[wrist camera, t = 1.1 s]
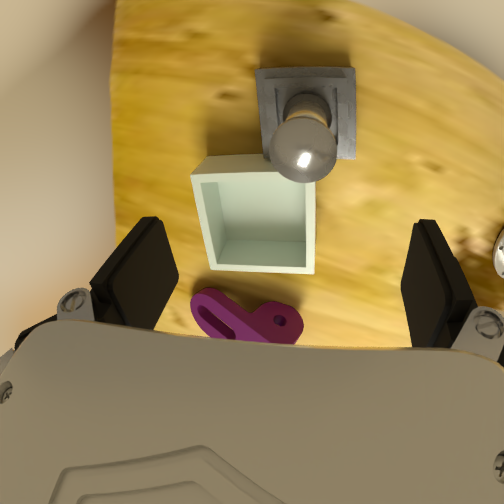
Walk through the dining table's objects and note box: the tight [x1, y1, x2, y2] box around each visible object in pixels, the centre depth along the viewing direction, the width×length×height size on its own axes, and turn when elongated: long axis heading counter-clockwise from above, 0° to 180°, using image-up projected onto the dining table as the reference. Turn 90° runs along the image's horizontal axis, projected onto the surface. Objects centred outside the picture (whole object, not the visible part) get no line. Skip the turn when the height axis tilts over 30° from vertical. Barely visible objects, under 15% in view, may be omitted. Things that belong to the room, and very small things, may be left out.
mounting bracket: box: [190, 288, 304, 344], centre depth 52 cm, size 9×8×18 cm
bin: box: [190, 154, 316, 274], centre depth 37 cm, size 13×13×6 cm
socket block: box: [255, 66, 356, 159], centre depth 30 cm, size 10×10×4 cm
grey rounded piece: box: [269, 91, 337, 183], centre depth 24 cm, size 5×5×13 cm
